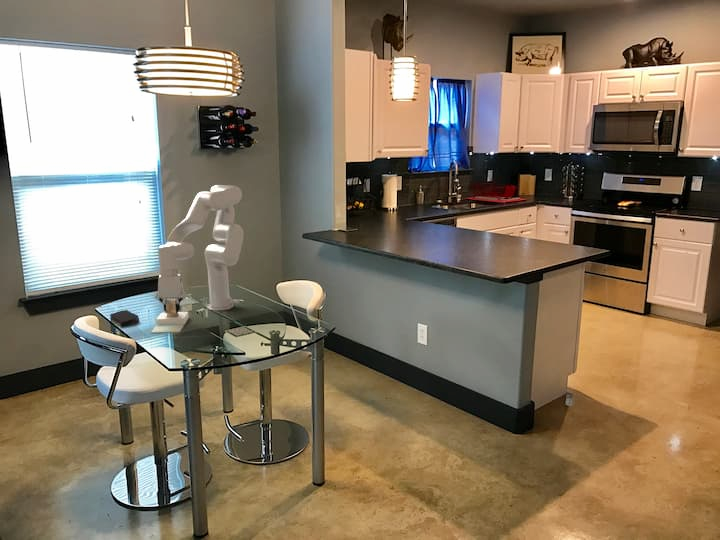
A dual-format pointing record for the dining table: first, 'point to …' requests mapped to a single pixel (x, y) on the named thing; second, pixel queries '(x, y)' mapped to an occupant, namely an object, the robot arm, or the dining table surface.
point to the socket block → (172, 319)
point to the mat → (167, 328)
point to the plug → (171, 308)
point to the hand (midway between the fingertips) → (172, 311)
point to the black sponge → (124, 318)
